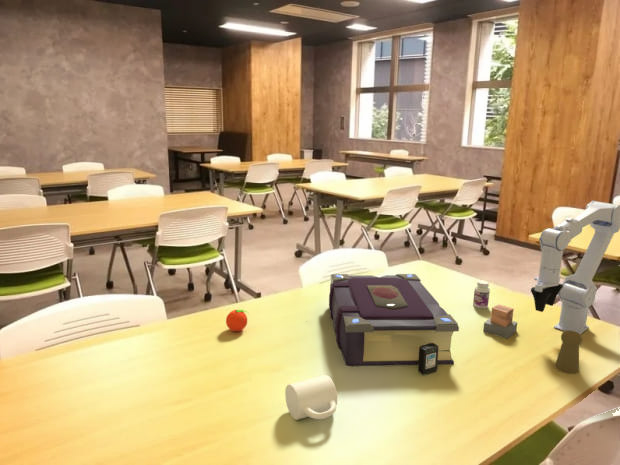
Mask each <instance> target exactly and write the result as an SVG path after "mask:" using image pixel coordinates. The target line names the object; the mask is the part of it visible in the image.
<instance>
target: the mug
mask: <svg viewBox="0 0 620 465" xmlns="http://www.w3.org/2000/svg"><path fill="white" fill-rule="evenodd" d="M284 392H285V394H284V395H285V403H286V407H287V409H288V412H289V414H290V416H291V417H292V419H294V420H298V421H299V420H301V419H304V418H311V419H315V420H323V419H327V418H329V417H331V416H332V415H334V413H335V412H336V411H337V405H338V392H337V388H336V385H335V383H334V381H333V379H332V378H331V377H330V376H329V375H327V374H324V375H319V376H317V377H316V376H315V377H312V378H309V379H308V378H307V379H304V380H300V381H297V382H294V383H289V384H287V385H286V387H285V390H284Z"/></svg>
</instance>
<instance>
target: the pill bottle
mask: <svg viewBox="0 0 620 465" xmlns="http://www.w3.org/2000/svg"><path fill="white" fill-rule="evenodd" d="M476 284H477V285H476V286H475V287H474V292H473V302H472V306H474V307H475V308H477V309H487V308H488V307H489V300H490V294H491V293H490V292H491V291H490V290H491V289H490V288H489V286H490V283H489V281H485V280H477V283H476Z"/></svg>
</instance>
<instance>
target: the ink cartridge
mask: <svg viewBox="0 0 620 465" xmlns="http://www.w3.org/2000/svg"><path fill="white" fill-rule="evenodd" d="M438 347H439V346H437V345H436V344H434V343H428V344H426V345H422V346H420V348H419V361H418V365H417V372H418V373H420V374H421V375H422V376H426V375H429V374H433V373H436V372H437V371H438V365H437V361H438Z"/></svg>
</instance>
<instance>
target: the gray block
mask: <svg viewBox="0 0 620 465" xmlns="http://www.w3.org/2000/svg"><path fill="white" fill-rule="evenodd" d="M490 321H491V317H490V318H488V319H487V320H485V321H484V323H483V332H484V333H488V334H491V335H493V336H497V337H500V338H504V339H507V340H508V339H509V338H510V337H512V336H513V335H514V334H515V333H516V332H517V329H518V322H517V321H514V320H512V323H511V324H509V325H507V326H506V327H504V326H501V325H498V324H495V323H492V322H490Z"/></svg>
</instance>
